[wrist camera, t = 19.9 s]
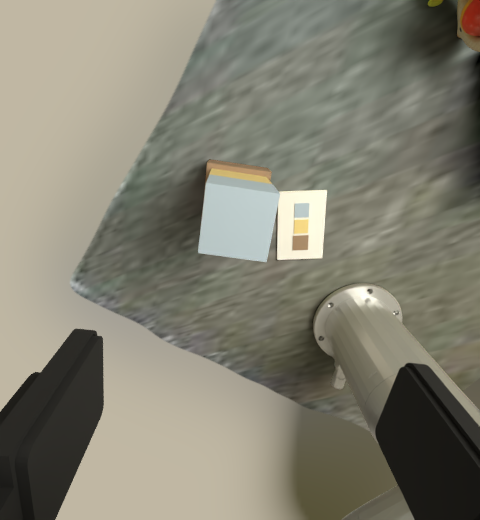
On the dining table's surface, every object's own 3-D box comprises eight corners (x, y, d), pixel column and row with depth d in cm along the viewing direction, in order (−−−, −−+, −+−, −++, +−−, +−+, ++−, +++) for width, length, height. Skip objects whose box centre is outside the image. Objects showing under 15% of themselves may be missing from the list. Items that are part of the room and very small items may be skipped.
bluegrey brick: (261, 243, 33) (266, 262, 29) (202, 235, 33) (197, 253, 28) (272, 184, 31) (280, 193, 26) (209, 174, 30) (205, 182, 26)
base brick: (258, 224, 42) (260, 233, 38) (203, 216, 41) (200, 225, 37) (267, 168, 39) (271, 172, 35) (209, 159, 39) (207, 162, 35)
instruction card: (321, 257, 44) (322, 258, 43) (277, 259, 44) (277, 260, 43) (326, 189, 40) (327, 190, 40) (277, 191, 40) (278, 192, 40)
